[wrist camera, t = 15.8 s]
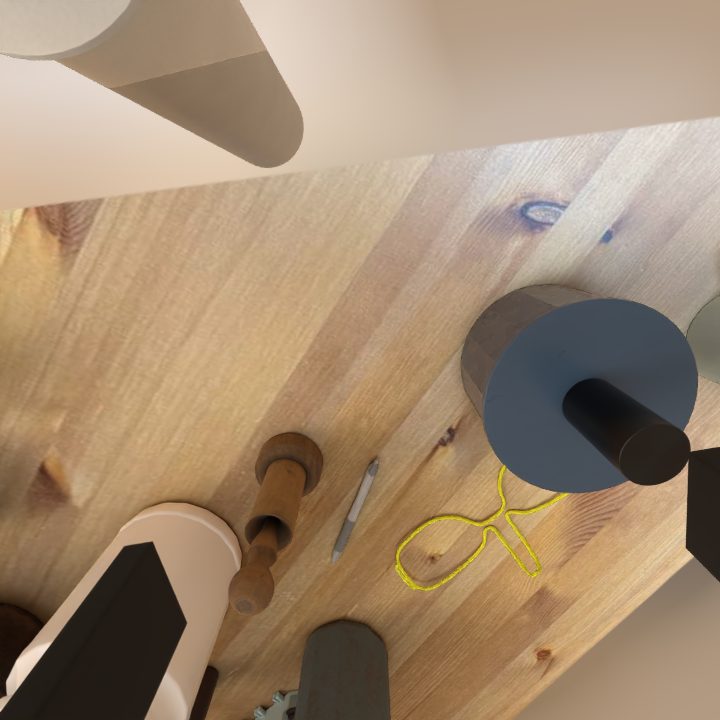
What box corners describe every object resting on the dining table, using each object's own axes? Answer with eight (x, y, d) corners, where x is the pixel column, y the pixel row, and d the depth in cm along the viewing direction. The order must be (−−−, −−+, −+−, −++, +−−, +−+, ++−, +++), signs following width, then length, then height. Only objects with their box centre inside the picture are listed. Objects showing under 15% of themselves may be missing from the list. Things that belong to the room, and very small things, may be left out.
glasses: (560, 414, 43) (584, 436, 38) (616, 476, 45) (644, 504, 40) (379, 553, 48) (380, 588, 44) (436, 602, 50) (443, 640, 46)
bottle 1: (97, 554, 49) (-225, 953, 22) (165, 475, 46) (-118, 833, 19) (199, 617, 52) (21, 1040, 25) (269, 548, 48) (151, 949, 22)
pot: (451, 301, 40) (476, 324, 31) (612, 269, 39) (688, 283, 29) (470, 440, 44) (497, 496, 35) (615, 414, 43) (682, 465, 34)
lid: (467, 319, 31) (504, 353, 23) (689, 275, 30) (814, 295, 22) (490, 498, 36) (529, 582, 27) (684, 467, 34) (784, 544, 26)
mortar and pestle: (268, 490, 46) (210, 650, 29) (252, 437, 44) (181, 574, 27) (328, 481, 46) (306, 637, 28) (315, 427, 44) (283, 559, 26)
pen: (381, 456, 45) (381, 464, 43) (337, 558, 49) (336, 568, 47) (372, 453, 44) (372, 461, 43) (328, 555, 49) (327, 565, 47)
